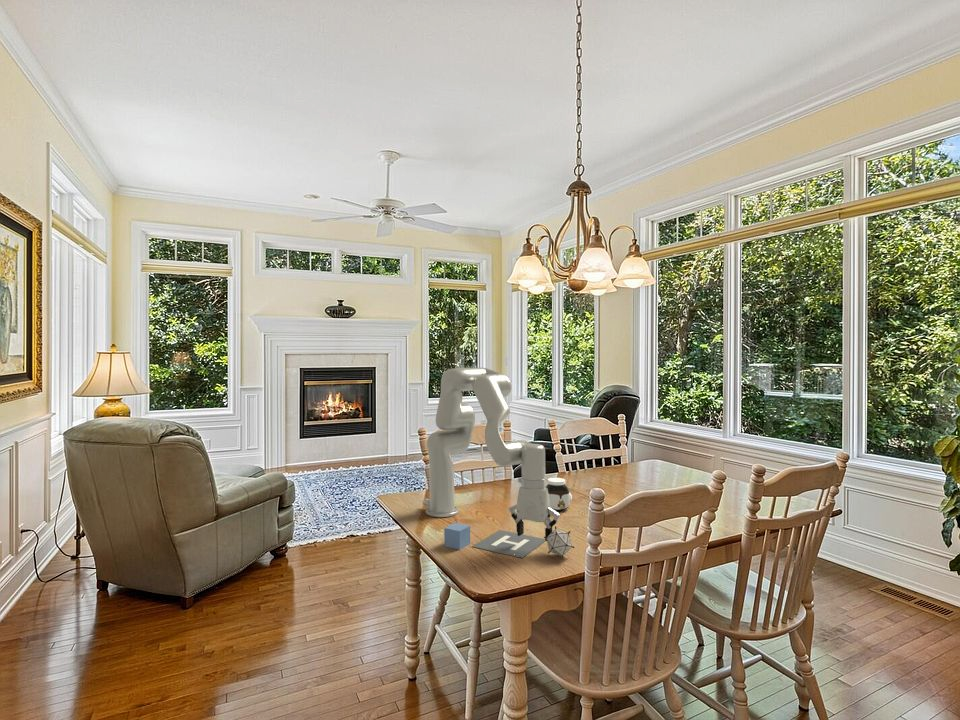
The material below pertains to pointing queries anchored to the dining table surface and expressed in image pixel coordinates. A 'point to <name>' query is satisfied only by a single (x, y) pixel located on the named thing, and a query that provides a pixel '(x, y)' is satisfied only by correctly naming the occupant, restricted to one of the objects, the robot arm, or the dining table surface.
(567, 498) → the spread jar
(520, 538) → the letter mat
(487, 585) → the dining table surface
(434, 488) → the robot arm
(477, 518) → the dining table surface
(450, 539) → the slate cube
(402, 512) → the dining table surface
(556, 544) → the game die
